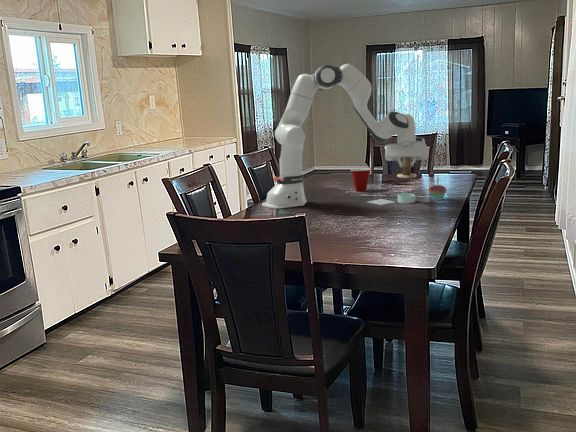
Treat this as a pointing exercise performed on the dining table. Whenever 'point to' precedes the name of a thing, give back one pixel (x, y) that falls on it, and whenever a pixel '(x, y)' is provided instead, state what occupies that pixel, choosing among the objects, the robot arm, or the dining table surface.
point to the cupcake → (437, 191)
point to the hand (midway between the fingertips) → (406, 166)
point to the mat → (381, 201)
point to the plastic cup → (360, 178)
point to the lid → (406, 169)
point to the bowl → (406, 198)
